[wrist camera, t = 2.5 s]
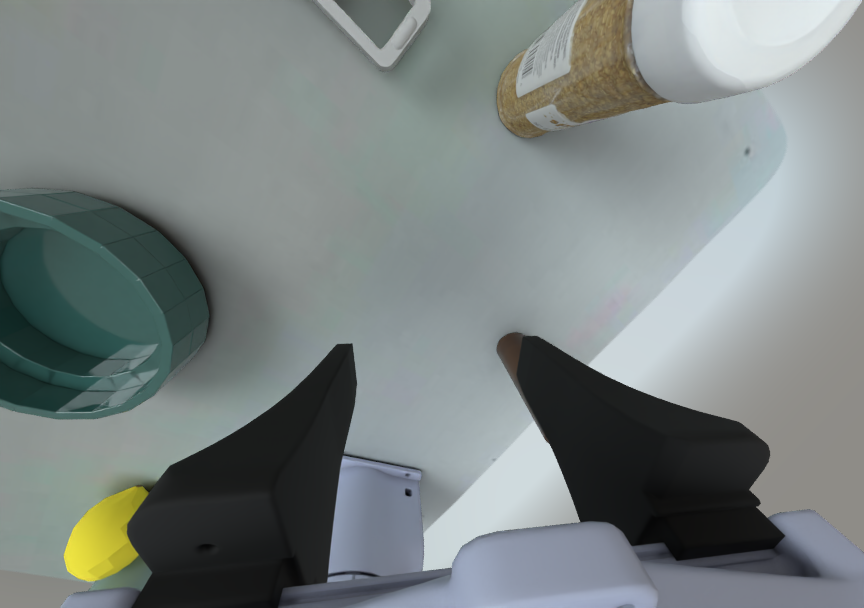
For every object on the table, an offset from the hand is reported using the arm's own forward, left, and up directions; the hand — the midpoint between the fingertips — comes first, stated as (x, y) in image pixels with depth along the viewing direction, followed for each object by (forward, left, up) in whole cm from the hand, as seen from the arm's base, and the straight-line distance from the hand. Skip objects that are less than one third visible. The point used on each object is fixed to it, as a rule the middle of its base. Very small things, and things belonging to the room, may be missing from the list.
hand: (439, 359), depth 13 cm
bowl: (+19, +9, -11) cm, 24 cm away
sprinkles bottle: (-2, -13, -11) cm, 17 cm away
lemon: (+15, +28, -5) cm, 32 cm away
